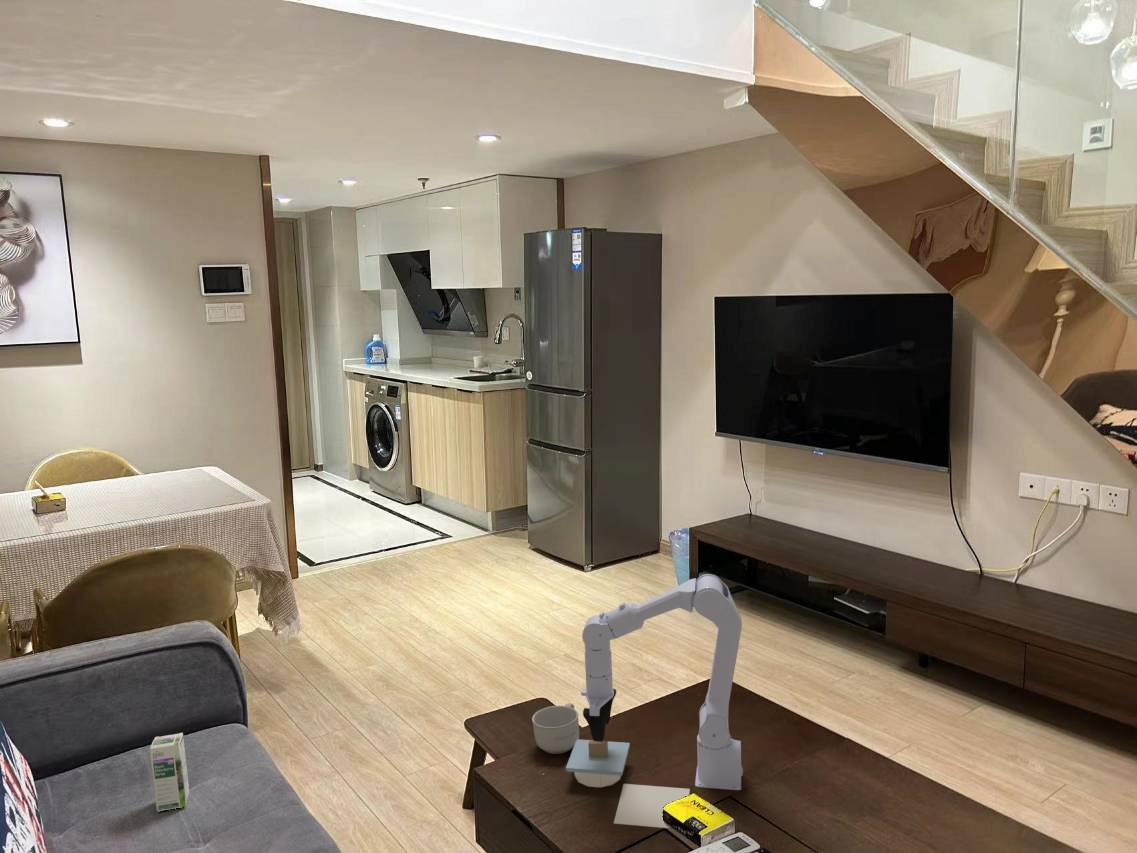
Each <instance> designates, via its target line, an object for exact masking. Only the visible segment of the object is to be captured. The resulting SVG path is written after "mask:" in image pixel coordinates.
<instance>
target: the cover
mask: <svg viewBox="0 0 1137 853" xmlns="http://www.w3.org/2000/svg"><path fill="white" fill-rule="evenodd" d="M630 744H631V743H630V742H624V741H623V742H622V741H621V742H620V741H608V740H603V742H600V741H593V739H580V738H579V739H577V740H576V743H575V745H574V746H573V747H572V751H571V753H570V757H569V758H568V761H567V764H566V766H565V772H568V773H569V772H571V773H575V772H580V773H593V774H606V775H619V776H621V777H622V776H623V773H624V771H625V766H626V762H627V758H628V756H629V752H630V751H629V750H630V747H631V746H630Z"/></svg>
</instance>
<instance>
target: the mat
mask: <svg viewBox="0 0 1137 853" xmlns="http://www.w3.org/2000/svg"><path fill="white" fill-rule="evenodd" d="M690 791H691V790H690V788H683V787H682V788H681V787H671V786H670V787H669V786H659V785H658V786H656V785H645V784H634V783H633V784H632V783H631V784H630V783H623V785H622V789H621V793H620V797H619V800H618V805H617V809H616V812H615V816H614V820H613V824H616V825H628V826H638V827H649V828H660V829H669V828H668V827H667V826H666V825H665V824H664V821H663V817H662V816H663V813H662V812H663V807H664V806H665V805H666V804H668V803H671V802H672V801H675V800H678V799H681V798H683V797H685V796H688V795H689V796H690Z"/></svg>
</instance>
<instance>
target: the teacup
mask: <svg viewBox="0 0 1137 853" xmlns="http://www.w3.org/2000/svg"><path fill="white" fill-rule="evenodd" d="M531 721H532V724H533V725H532V726H533V727H532V728H533V733H534V740H535V743H536V745H537V746H538V747H539V748H540V749H541V750H542V751H544V752H546V753H548V754H552V755H561V754H564V753H568V752H569V751H571V750H572V749H573V748H574V745H575V743H576V740H577V739H580V723H579V712H578V711H577V709H575V705H574V704H573V703H571V702H567V703H565V705H552V706H551V705H550V706H547V707H543V708H542V709H539V710H537V711H536V712H534V714H533V715H532V717H531Z"/></svg>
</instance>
